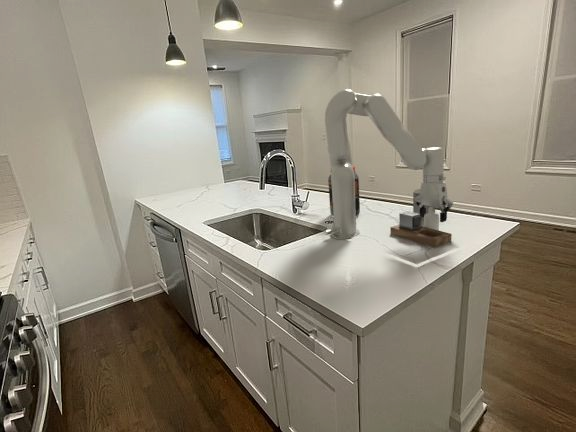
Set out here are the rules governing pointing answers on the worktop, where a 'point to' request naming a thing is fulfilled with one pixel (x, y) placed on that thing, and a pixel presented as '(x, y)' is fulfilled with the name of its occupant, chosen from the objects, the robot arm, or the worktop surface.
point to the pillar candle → (415, 206)
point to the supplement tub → (357, 201)
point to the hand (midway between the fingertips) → (432, 219)
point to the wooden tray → (423, 236)
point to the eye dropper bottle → (431, 219)
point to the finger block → (409, 221)
